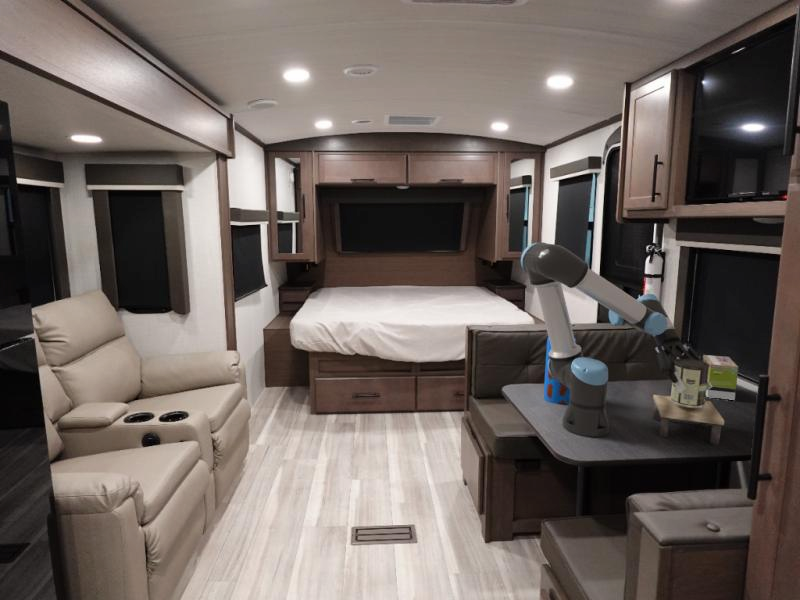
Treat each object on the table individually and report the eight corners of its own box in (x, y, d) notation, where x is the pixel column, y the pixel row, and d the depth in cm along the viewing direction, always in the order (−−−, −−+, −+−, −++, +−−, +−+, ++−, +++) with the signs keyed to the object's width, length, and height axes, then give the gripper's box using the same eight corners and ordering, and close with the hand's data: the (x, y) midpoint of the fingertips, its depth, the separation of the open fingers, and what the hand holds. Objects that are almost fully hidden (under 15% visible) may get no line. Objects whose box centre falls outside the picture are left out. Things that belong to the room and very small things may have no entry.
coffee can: (693, 397, 174) (698, 358, 172) (711, 408, 164) (716, 367, 162) (664, 396, 174) (668, 357, 172) (679, 407, 164) (684, 366, 162)
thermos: (575, 404, 193) (580, 342, 189) (547, 404, 193) (551, 341, 189) (566, 394, 204) (571, 335, 200) (540, 394, 204) (544, 334, 200)
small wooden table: (658, 436, 165) (661, 412, 164) (651, 416, 182) (653, 394, 181) (721, 445, 159) (724, 420, 158) (707, 424, 176) (710, 401, 175)
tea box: (698, 386, 216) (702, 353, 213) (725, 389, 212) (730, 356, 210) (706, 398, 202) (710, 363, 199) (735, 401, 198) (739, 366, 196)
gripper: (683, 336, 184) (715, 392, 171) (631, 340, 178) (661, 397, 165) (696, 325, 178) (731, 382, 165) (644, 329, 172) (675, 387, 159)
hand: (696, 390), depth 165 cm, fingers closed on coffee can, 10 cm apart
